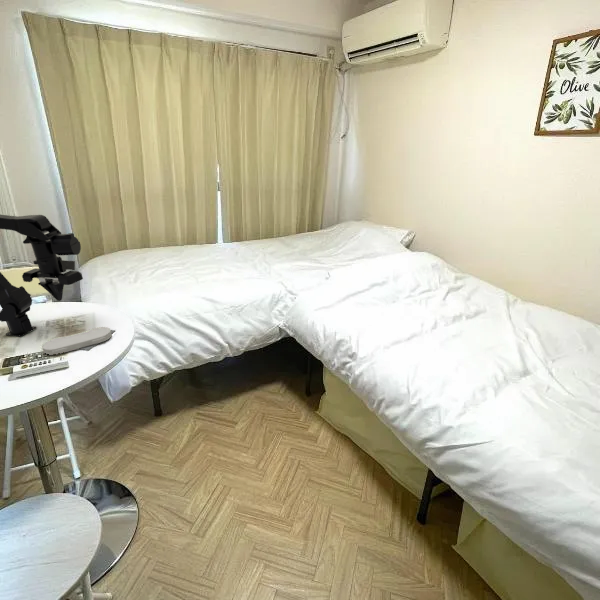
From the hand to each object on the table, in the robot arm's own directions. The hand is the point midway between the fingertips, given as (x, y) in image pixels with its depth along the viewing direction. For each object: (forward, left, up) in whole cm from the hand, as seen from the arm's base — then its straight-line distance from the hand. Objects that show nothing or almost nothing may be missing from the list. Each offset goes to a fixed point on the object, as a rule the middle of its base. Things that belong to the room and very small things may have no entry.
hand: (59, 300), depth 127 cm
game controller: (+8, -5, -10) cm, 14 cm away
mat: (+13, -4, -11) cm, 18 cm away
